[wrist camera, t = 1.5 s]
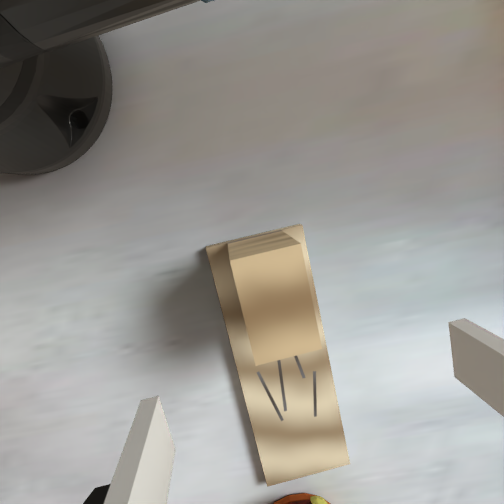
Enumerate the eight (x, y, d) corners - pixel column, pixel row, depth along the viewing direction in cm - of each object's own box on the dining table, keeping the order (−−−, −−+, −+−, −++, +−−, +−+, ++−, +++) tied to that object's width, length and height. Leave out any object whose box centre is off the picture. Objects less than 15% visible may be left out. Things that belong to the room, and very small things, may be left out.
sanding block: (227, 242, 32) (229, 260, 24) (281, 230, 32) (300, 243, 24) (247, 324, 33) (255, 366, 25) (298, 311, 33) (322, 348, 25)
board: (206, 246, 32) (205, 248, 31) (299, 223, 33) (302, 225, 32) (266, 478, 37) (267, 486, 36) (346, 456, 38) (350, 464, 37)
